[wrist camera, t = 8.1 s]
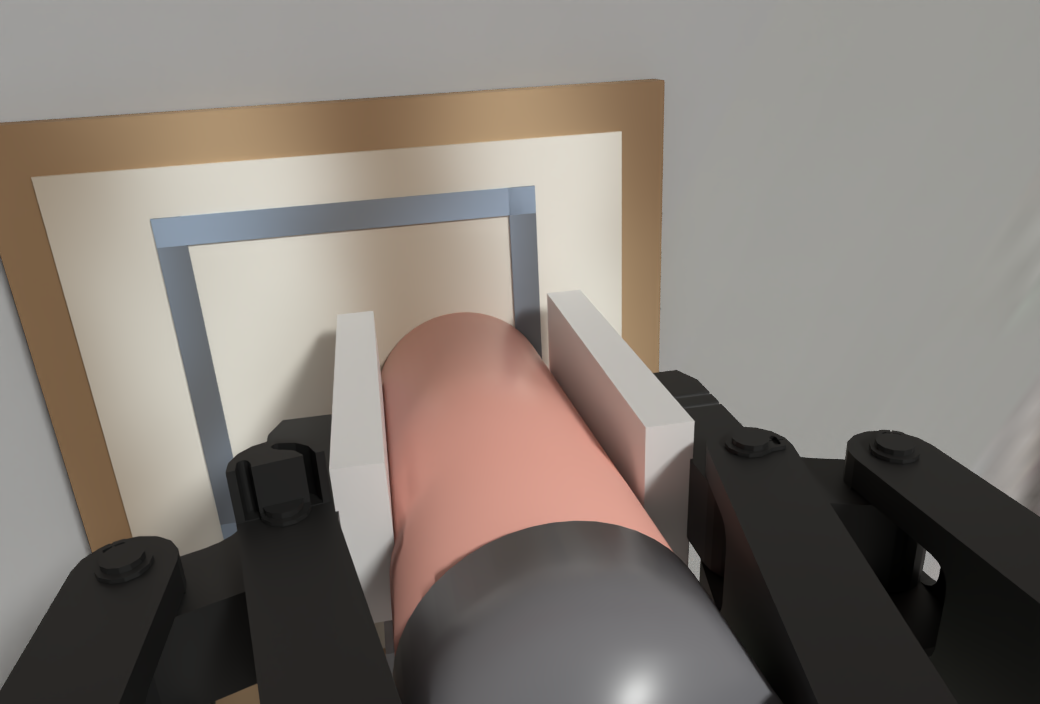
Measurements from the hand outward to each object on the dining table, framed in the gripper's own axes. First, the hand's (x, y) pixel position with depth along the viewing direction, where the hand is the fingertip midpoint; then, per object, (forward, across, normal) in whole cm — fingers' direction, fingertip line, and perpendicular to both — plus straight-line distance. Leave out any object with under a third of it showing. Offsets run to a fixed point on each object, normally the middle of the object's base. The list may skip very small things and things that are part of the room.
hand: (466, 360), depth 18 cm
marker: (+1, 0, -1) cm, 1 cm away
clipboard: (+2, -2, -4) cm, 5 cm away
